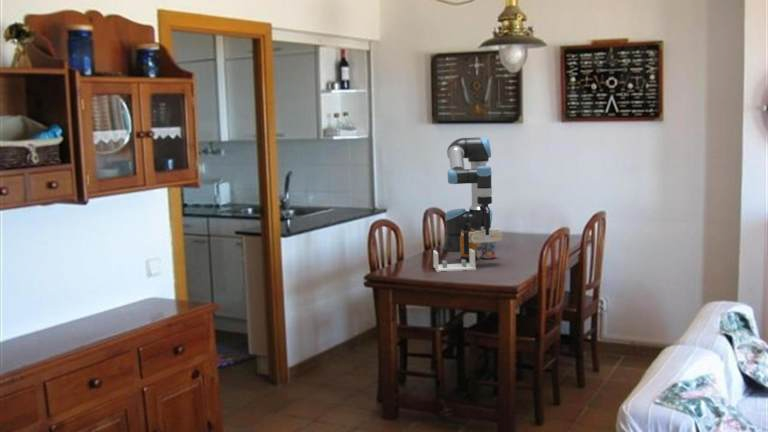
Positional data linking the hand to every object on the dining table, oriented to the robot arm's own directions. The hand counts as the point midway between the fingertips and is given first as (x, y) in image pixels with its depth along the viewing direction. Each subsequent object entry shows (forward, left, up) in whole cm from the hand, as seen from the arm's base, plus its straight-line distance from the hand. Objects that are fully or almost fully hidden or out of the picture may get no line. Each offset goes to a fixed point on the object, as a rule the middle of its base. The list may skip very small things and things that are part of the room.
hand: (485, 240), depth 413 cm
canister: (-16, -7, -13) cm, 22 cm away
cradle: (+5, -18, -13) cm, 22 cm away
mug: (-20, +5, -13) cm, 25 cm away
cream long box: (0, 0, -1) cm, 1 cm away
